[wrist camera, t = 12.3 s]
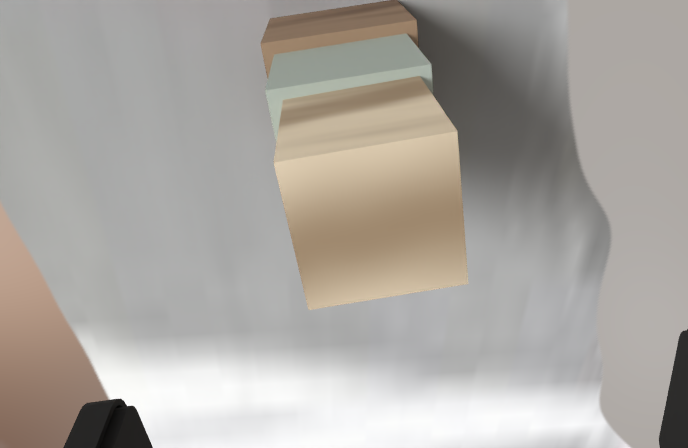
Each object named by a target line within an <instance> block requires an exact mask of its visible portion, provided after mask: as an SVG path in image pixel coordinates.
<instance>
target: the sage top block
mask: <svg viewBox="0 0 688 448" xmlns="http://www.w3.org/2000/svg"><path fill="white" fill-rule="evenodd" d="M416 76H420V77H421V78H422V80H423V81H424V83H425V84H426V86H427V87H428V89H429V90H430V92H431V93H432V95H433V81H432V67H431V63H430V62H429V61H428V59H427V58H426V57H425V56H424V55H423V53H422V52H421V51H420V50H419V48H418V47H417V46H416V45H415V43H414V42H413V41H412V40H411V38H410V37H409V36H408V35H407V33H406V34H399V35H393V36H387V37H381V38H374V39H368V40H362V41H356V42H349V43H343V44H337V45H330V46H324V47H318V48H312V49H305V50H299V51H293V52H287V53H280V54H274V57H273V61H272V65H271V69H270V73H269V77H268V81H267V85H266V89H265V93H266V97H267V102H268V107H269V111H270V116H271V121H272V125H273V130H274V135H275V139H276V143H277V136H278V129H279V122H280V115H281V109H282V102H283V100H285V99H290V98H296V97H302V96H308V95H313V94H319V93H325V92H330V91H336V90H342V89H348V88H353V87H359V86H365V85H370V84H376V83H382V82H387V81H393V80H399V79H405V78H410V77H416ZM433 96H434V95H433Z"/></svg>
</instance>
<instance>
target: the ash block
mask: <svg viewBox="0 0 688 448" xmlns="http://www.w3.org/2000/svg"><path fill="white" fill-rule="evenodd" d="M274 166H275V171H276V175H277V179H278V183H279V187H280V192H281V196H282V200H283V204H284V209H285V213H286V217H287V221H288V225H289V230H290V234H291V238H292V242H293V246H294V251H295V255H296V259H297V263H298V267H299V272H300V276H301V280H302V284H303V288H304V293H305V297H306V301H307V305H308V309H309V310H312V309H318V308H324V307H330V306H336V305H342V304H349V303H355V302H361V301H367V300H373V299H379V298H385V297H391V296H398V295H404V294H410V293H416V292H422V291H428V290H434V289H440V288H446V287H453V286H459V285H465V284H468V273H467V259H466V245H465V231H464V217H463V203H462V189H461V175H460V161H459V147H458V132H457V130H456V128H455V127H454V125H453V124H452V122H451V121H450V119H449V118H448V117H447V115H446V114H445V112H444V111H443V109H442V108H441V106H440V105H439V103H438V102H437V100H436V99H435V97H434V96H433V95H432V93H431V92H430V90H429V89H428V87H427V86H426V84H425V83H424V81H423V80H422V78H421V77H420V76H416V77H410V78H405V79H399V80H393V81H387V82H382V83H376V84H370V85H365V86H359V87H353V88H348V89H342V90H336V91H330V92H325V93H319V94H313V95H308V96H302V97H296V98H290V99H285V100H283V102H282V109H281V115H280V122H279V129H278V136H277V143H276V150H275V156H274Z"/></svg>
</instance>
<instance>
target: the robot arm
mask: <svg viewBox="0 0 688 448" xmlns="http://www.w3.org/2000/svg"><path fill="white" fill-rule="evenodd" d="M659 445H660V448H688V329H687V331H683V332H682V333H681V334H680V337H679V341H678V347H677V351H676V357H675V361H674V366H673V371H672V376H671V381H670V386H669V391H668V396H667V401H666V406H665V411H664V416H663V421H662V426H661V431H660V436H659ZM64 448H153V447H152V445H151V442H150V440H149V438H148V435H147V433H146V431H145V428H144V426H143V424H142V421H141V419H140V417H139V414H138V412H137V410H136V408H135V407H134V406H127V405H126V404H125V402H124V401H123V400H122V399H113V400H106V401H99V402H91V403H87V404H85V405H84V406H83V407H82V409H81V410H80V412H79V414H78V417H77V419H76V421H75V423H74V426H73V428H72V430H71V432H70V435H69V437H68V439H67V441H66V443H65V446H64Z"/></svg>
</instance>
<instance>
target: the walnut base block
mask: <svg viewBox="0 0 688 448" xmlns="http://www.w3.org/2000/svg"><path fill="white" fill-rule="evenodd" d="M406 33H407V35H408V36H409V37H410V38H411V40H412V41H413V42H414V43H415V45H416V46H417V47H418V48H419V46H418V32H417V20H416V19H415V18H414V17H413V16H412V15H411V14H410V13H409V12H408V11H407V10H406V9H405V8H404V7H403V6H402V5H401V4H400V3H399V2H398V1H397V0H389V1H383V2H376V3H370V4H363V5H356V6H350V7H343V8H337V9H330V10H323V11H317V12H310V13H304V14H297V15H290V16H284V17H277V18H271V19H270V20H269V23H268V26H267V28H266V31H265V33H264V36H263V39H262V41H261V48H262V53H263V58H264V63H265V68H266V73H267V78H268V77H269V73H270V69H271V65H272V61H273V57H274V54H280V53H287V52H293V51H299V50H305V49H312V48H318V47H324V46H330V45H337V44H343V43H349V42H356V41H362V40H368V39H374V38H381V37H387V36H393V35H399V34H406Z"/></svg>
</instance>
